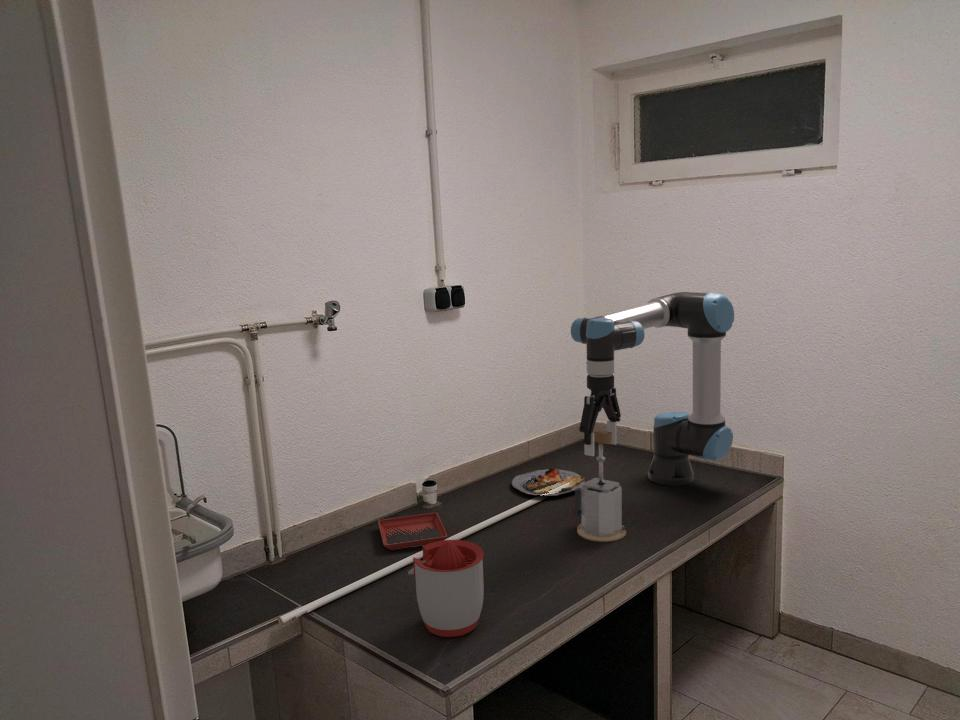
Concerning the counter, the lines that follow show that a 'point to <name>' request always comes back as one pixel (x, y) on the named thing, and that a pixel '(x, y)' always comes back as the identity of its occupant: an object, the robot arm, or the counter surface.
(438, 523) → the plant saucer
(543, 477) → the food plate
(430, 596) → the citrus juicer
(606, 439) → the plunger
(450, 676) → the counter surface
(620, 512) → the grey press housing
